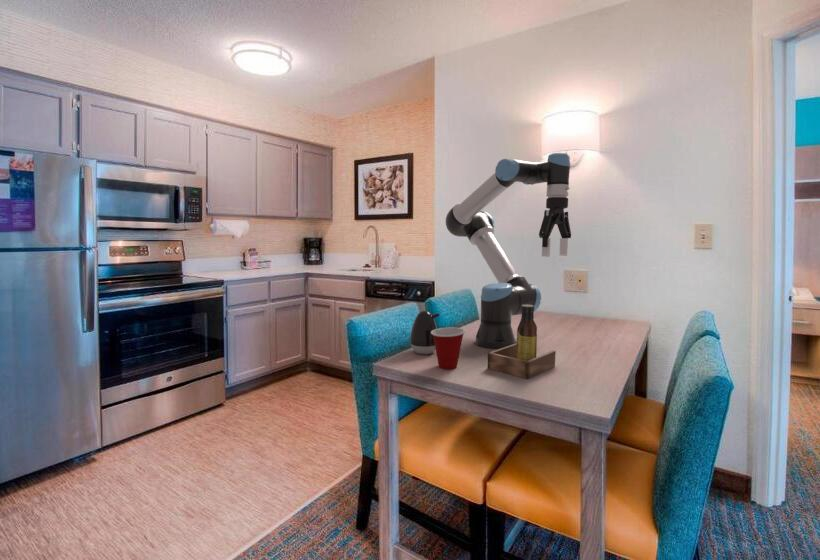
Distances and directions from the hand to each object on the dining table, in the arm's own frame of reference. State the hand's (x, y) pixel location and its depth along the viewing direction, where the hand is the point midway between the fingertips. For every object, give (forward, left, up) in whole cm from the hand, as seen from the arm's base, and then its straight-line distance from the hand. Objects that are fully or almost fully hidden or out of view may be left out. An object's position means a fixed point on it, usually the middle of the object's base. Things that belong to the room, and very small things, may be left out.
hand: (554, 256), depth 154 cm
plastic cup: (-13, -45, -35) cm, 59 cm away
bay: (+4, -28, -35) cm, 45 cm away
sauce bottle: (+4, -26, -35) cm, 44 cm away
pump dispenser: (-29, -38, -35) cm, 60 cm away
